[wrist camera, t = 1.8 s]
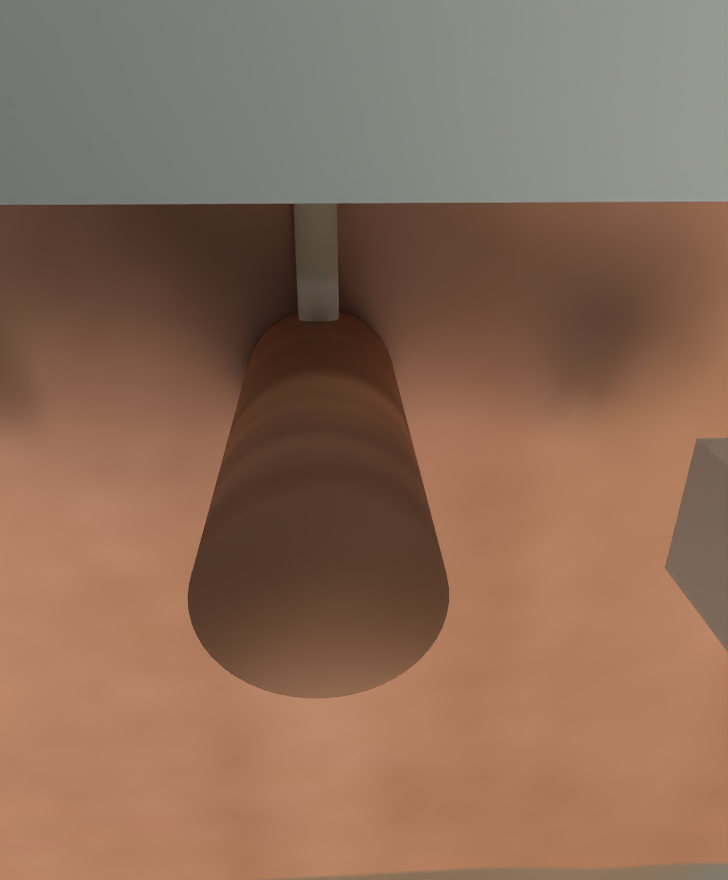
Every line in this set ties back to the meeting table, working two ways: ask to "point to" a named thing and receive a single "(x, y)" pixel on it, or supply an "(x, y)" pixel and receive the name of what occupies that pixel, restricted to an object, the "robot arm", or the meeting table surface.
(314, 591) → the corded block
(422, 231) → the meeting table surface
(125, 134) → the box
